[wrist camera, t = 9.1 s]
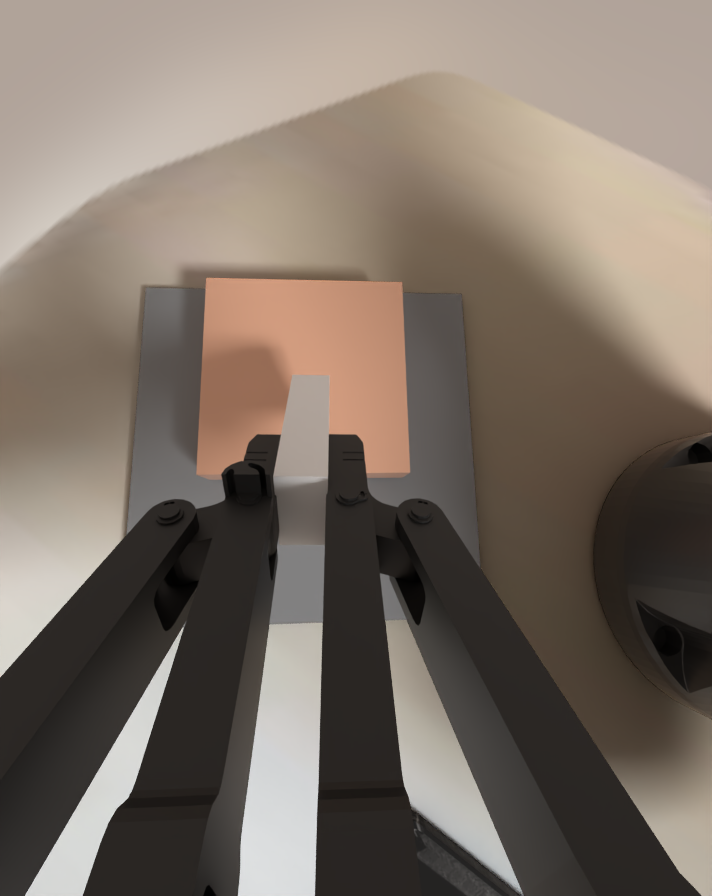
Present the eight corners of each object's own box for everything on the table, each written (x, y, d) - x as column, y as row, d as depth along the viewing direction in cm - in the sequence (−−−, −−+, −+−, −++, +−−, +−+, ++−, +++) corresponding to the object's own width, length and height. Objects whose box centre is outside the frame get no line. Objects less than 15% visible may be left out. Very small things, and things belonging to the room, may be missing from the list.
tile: (401, 478, 22) (394, 305, 24) (410, 472, 20) (402, 282, 22) (210, 480, 22) (218, 302, 23) (196, 474, 19) (206, 277, 21)
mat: (458, 299, 25) (461, 293, 24) (479, 614, 22) (484, 616, 21) (150, 293, 24) (146, 287, 23) (125, 626, 21) (119, 629, 20)
